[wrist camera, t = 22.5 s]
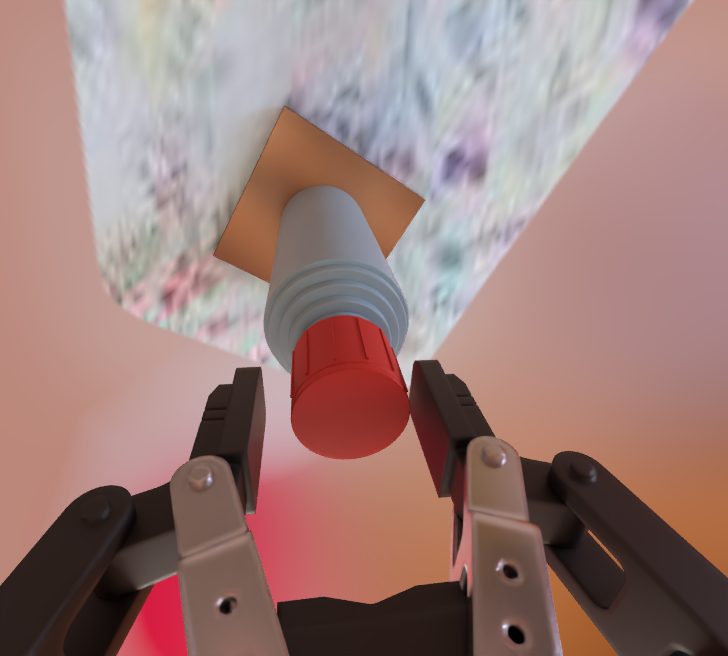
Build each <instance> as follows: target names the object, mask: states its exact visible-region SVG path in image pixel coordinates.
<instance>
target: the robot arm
mask: <svg viewBox="0 0 728 656" xmlns="http://www.w3.org/2000/svg"><path fill="white" fill-rule="evenodd" d="M409 401H410V414H411V418H412V420H413V423H414V426H415V429H416V432H417V435H418V438H419V441H420V444H421V447H422V450H423V452H424V456H425V458H426V462H427V465H428V467H429V470H430V473H431V476H432V479H433V482H434V485H435V488H436V491H437V494H438V497H439V498H441V497H451V499H452V501H453V504H454V506H453V511H452V522H451V551H450V576H449V577H450V578H449V582H443V583H434V584H427V585H418V586H414V587H413V588H410V589H408V590H405V591H403V592H401V593H398V594H396V595H394V596H391V597H389V598H387V599H385V600H383V601H380V602H378V603H375V604H365V603H360V602H353V601H347V600H341V599H334V598H329V597H318V598H310V599H301V600H293V601H285V602H278V603H277V613H276V609H275V606H274V603H273V600H272V596H271V593H270V590H269V586H268V583H267V580H266V576H265V573H264V570H263V566H262V563H261V560H260V557H259V553H258V550H257V547H256V543H255V540H254V537H253V534H252V532H251V530H250V531H249V528H248V525H247V522H246V518H245V514H255V513H256V505H257V496H258V487H259V477H260V468H261V458H262V449H263V440H264V432H265V421H266V409H265V398H264V387H263V378H262V370H261V367H247V368H236V371H235V375H234V380H233V384H224V385H219V386H217V388H216V389H215V390H214V391H213V392H212V393H211V394H210V395H209V397H208V401H207V403H206V407H205V411H204V413H203V417H202V421H201V423H200V426H199V429H198V433H197V436H196V439H195V442H194V446H193V449H192V452H191V456H190V459H189V461H188V462H186V463H185V464H183V465H182V466H181V467H179V469H177V471H176V472H175V473H174V475H173V476H172V478H171V481H170V482H168V483H166V484H164V485H162V486H160V487H157V488H154V489H151V490H148V491H145V492H142V493H139V494H136V495H133V496H131V495H130V493H129V492H128V490H126V489H125V488H123V487H120V486H113V485H110V486H103V487H99V488H95V489H93V490H90V491H88V492H86V493H84V494H83V495H81V496H80V497H78V498H77V499H75V500H74V501H73V502H72V503H71V504H70V505H69V506H68V507H67V508H66V509H65V510H64V511H63V513H62V514H61V515H60V516H59V517H58V519H57V520H56V521H55V522H54V523H53V524H52V526H51V527H50V528H49V529H48V530H47V531H46V533H45V534H44V535H43V536H42V537H41V538H40V540H39V541H38V542H37V543H36V544H35V546H34V547H33V548H32V549H31V550H30V551H29V553H28V554H27V555H26V556H25V558H24V559H23V560H22V561H21V562H20V563H19V564H18V566H17V567H16V568H15V569H14V571H13V572H12V573H11V574H10V575H9V576H8V577H7V579H6V580H5V581H4V582H3V583H2V585H1V586H0V656H116V655H117V653H118V651H119V649H120V648H121V646H122V644H123V642H124V640H125V638H126V636H127V635H128V633H129V631H130V629H131V627H132V625H133V623H134V622H135V619H136V618H137V616H138V614H139V612H140V610H141V608H142V607H143V605H144V603H145V601H146V599H147V597H148V595H149V593H150V592H151V590H152V588H153V586H154V584H155V583H157V582H159V581H162V580H164V579H166V578H169V577H171V576H174V575H176V574H178V579H179V588H180V595H181V604H182V611H183V620H184V628H185V636H186V644H187V652H188V656H563V654H562V649H561V643H560V637H559V631H558V626H557V620H556V615H555V609H554V603H553V597H552V591H551V586H550V580H549V575H548V568H547V563H548V565H549V566H550V567H551V569H552V570H553V571H554V572H555V573H556V575H557V576H558V577H559V579H560V580H561V582H562V583H563V584H564V585H565V587H566V588H567V589H568V591H569V592H570V593H571V594H572V596H573V597H574V598H575V600H576V601H577V602H578V604H579V605H580V606H581V607H582V609H583V610H584V611H585V612H586V614H587V615H588V617H589V618H590V619H591V620H592V622H593V623H594V624H595V626H596V627H597V628H598V629H599V631H600V632H601V633H602V635H603V636H604V637H605V638H606V640H607V641H608V642H609V644H610V645H611V646H612V648H613V649H614V650H615V651H616V653H617V654H618V655H619V656H728V578H727V577H726V576H725V575H724V574H723V573H721V571H719V570H718V569H717V568H716V567H715V566H714V565H713V564H712V563H711V562H709V561H708V560H707V559H706V558H705V557H704V556H703V555H702V554H700V553H699V552H698V551H697V550H696V549H695V548H694V547H692V546H691V545H690V544H689V543H688V542H687V541H686V540H685V539H684V538H683V537H681V536H680V535H679V534H678V533H677V532H676V531H675V530H673V528H671V527H670V526H669V525H668V524H667V523H666V522H665V521H663V520H662V519H661V518H660V517H659V516H658V515H657V514H656V513H655V512H654V511H652V510H651V509H650V508H649V507H648V506H647V505H646V504H645V503H643V502H642V501H641V500H640V499H639V498H638V497H637V496H636V495H635V494H633V493H632V492H631V491H630V490H629V489H628V488H627V487H626V486H624V485H623V484H622V483H621V482H620V481H619V480H618V479H617V478H616V477H614V476H613V475H612V474H611V473H610V472H609V471H608V470H607V469H605V468H604V467H603V466H602V465H601V464H600V463H599V462H597V461H596V460H594V459H593V458H591V457H589V456H587V455H584V454H582V453H579V452H573V451H564V452H560V453H558V454H557V455H555V457H554V459H553V461H552V463H548V462H542V461H537V460H531V459H527V458H523V457H520V456H519V454H518V453H517V451H516V450H515V449H514V448H513V447H512V446H511V445H510V444H508V443H507V442H505V441H503V440H501V439H498V438H496V437H495V435H494V434H493V432H492V430H491V428H490V426H489V425H488V423H487V421H486V419H485V418H484V416H483V414H482V412H481V411H480V409H479V407H478V406H477V405H476V402H475V400H474V398H473V397H472V396H471V393H470V391H469V390H468V388H467V386H466V384H465V383H464V382H463V381H462V380H460V379H459V378H458V377H457V376H455V375H454V374H445V373H444V371H443V369H442V367H441V365H440V363H439V361H438V360H419V361H415V362H414V364H413V370H412V378H411V386H410V395H409ZM588 530H590V531H591V532H592V533H593V534H594V535H595V536H596V537H597V538H598V539H599V540H600V542H601V543H602V544H603V545H604V546H605V547H606V548H607V549H608V550H609V551H610V552H611V553H612V555H613V556H614V557H615V558H616V559H617V560H618V561H619V563H620V564H621V566H622V567H623V570H624V571H623V570H622V569H621V568H620V567H619V566H618V565H617V564H616V563H615V561H614V560H613V559H612V558H611V557H610V556H609V555H608V554H607V553H606V552H605V551H604V549H603V548H602V547H601V546H600V545H599V544H598V543H597V542H596V541H595V540H594V538H593V537H592V536H591V535H590V534H589V533H588ZM546 562H547V563H546Z"/></svg>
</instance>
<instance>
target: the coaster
mask: <svg viewBox="0 0 728 656" xmlns="http://www.w3.org/2000/svg"><path fill="white" fill-rule="evenodd" d="M318 185H326V186H332V187H336V188H338V189H341V190H343V191H344V192H346V193H347V194H349V195H350V196H351V197H352V198H353V199H354V200H355V201H356V202H357V204H358V205H359V207H360V209H361V211H362V213H363V215H364V217H365V219H366V221H367V223H368V225H369V227H370V229H371V231H372V233H373V235H374V237H375V239H376V241H377V243H378V245H379V247H380V249H381V251H382V253H383V255H384V257H385V259H386V258H387V257H388V255H389V254H390V252H391V251H392V249H393V248H394V246H395V245H396V243H397V242H398V240H399V239H400V237H401V236H402V234H403V233H404V231H405V230H406V228H407V227H408V225H409V224H410V222H411V221H412V219H413V218H414V216H415V215H416V213H417V212H418V210H419V209H420V207H421V206H422V204H423V203H424V201H425V199H423V198H422V197H420V196H419V195H417V194H416V193H414V192H413V191H411V190H410V189H408V188H407V187H406V186H404V185H403V184H401V183H400V182H398V181H397V180H395V179H394V178H392V177H391V176H389V175H388V174H386V173H385V172H383V171H382V170H380V169H379V168H377V167H376V166H374V165H373V164H371V163H370V162H368V161H367V160H365V159H364V158H362V157H361V156H359V155H358V154H356V153H355V152H353V151H352V150H350V149H349V148H347V147H346V146H344V145H343V144H341V143H340V142H338V141H337V140H335V139H334V138H332V137H331V136H329V135H328V134H326V133H325V132H323V131H322V130H320V129H319V128H317V127H316V126H314V125H313V124H311V123H310V122H308V121H307V120H305V119H304V118H302V117H301V116H299V115H298V114H296V113H295V112H293V111H292V110H290V109H289V108H287V107H286V106H284V107H283V110H282V112H281V114H280V116H279V118H278V120H277V122H276V124H275V126H274V128H273V131H272V133H271V135H270V137H269V139H268V141H267V143H266V145H265V147H264V150H263V152H262V154H261V156H260V158H259V160H258V162H257V164H256V166H255V168H254V171H253V173H252V175H251V177H250V179H249V181H248V183H247V185H246V187H245V189H244V192H243V194H242V196H241V198H240V200H239V202H238V204H237V206H236V208H235V210H234V213H233V215H232V217H231V219H230V221H229V223H228V225H227V227H226V229H225V231H224V234H223V236H222V238H221V240H220V242H219V244H218V246H217V248H216V250H215V252H214V255H213V256H215V257H217V258H219V259H221V260H223V261H225V262H227V263H229V264H232V265H234V266H236V267H238V268H240V269H242V270H244V271H246V272H248V273H250V274H252V275H254V276H256V277H258V278H260V279H262V280H264V281H267V282H269V283H270V279H271V273H272V267H273V261H274V256H275V250H276V244H277V238H278V232H279V226H280V220H281V216H282V212H283V210H284V208H285V206H286V205H287V203H288V202H289V200H290V199H291V198H292V197H293V196H294V195H295V194H297V193H298V192H300V191H302V190H304V189H306V188H309V187H312V186H318Z"/></svg>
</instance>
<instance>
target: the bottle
mask: <svg viewBox="0 0 728 656" xmlns="http://www.w3.org/2000/svg"><path fill="white" fill-rule="evenodd" d="M338 315H350V316H357V317H361V318H364V319H366V320H368V321H370V322H372V323H374V324H375V325H376V326H378V327H379V328H381V329H382V331H383V332H384V334H385V335H386V337H387V339H388V341H389V343H390V346H391V347H393V350H394V353H395V356H396V357H397V355H398V354H399V352H400V350H401V348H402V346H403V343H404V341H405V338H406V335H407V331H408V325H409V313H408V307H407V303H406V300H405V297H404V295H403V293H402V291H401V289H400V287H399V285H398V283H397V281H396V279H395V277H394V275H393V273H392V271H391V269H390V267H389V265H388V263H387V261H386V259H385V257H384V255H383V253H382V251H381V249H380V247H379V245H378V243H377V241H376V239H375V237H374V235H373V233H372V231H371V229H370V227H369V225H368V223H367V221H366V219H365V217H364V215H363V213H362V211H361V209H360V207H359V205H358V204H357V202H356V201H355V200H354V199H353V198H352V197H351V196H350V195H349V194H347V193H346V192H344V191H343V190H341V189H338V188H336V187H332V186H326V185H318V186H312V187H309V188H306V189H304V190H302V191H300V192H298V193H297V194H295V195H294V196H293V197H292V198H291V199H290V200H289V202H288V203H287V205H286V206H285V208H284V210H283V212H282V216H281V220H280V226H279V232H278V238H277V244H276V250H275V256H274V261H273V267H272V273H271V279H270V285H269V291H268V297H267V303H266V308H265V315H264V333H265V338H266V341H267V344H268V346H269V348H270V350H271V352H272V354H273V355H274V356H275V358H276V359H277V360H278V362H279V363H280V364H281V365H282V366H283V368H284V369H285V370H286V371H288V372H289V373H290V374H291V369H292V351H294V349H295V346H296V344H297V342H298V340H299V338H300V337H301V336H302V334H303V333H304V332H305V331H306V330H307V329H308V328H310V327H311V326H312V325H314V324H315V323H317V322H319V321H321V320H323V319H326V318H329V317H333V316H338Z"/></svg>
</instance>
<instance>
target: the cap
mask: <svg viewBox="0 0 728 656" xmlns="http://www.w3.org/2000/svg"><path fill="white" fill-rule="evenodd" d="M407 392H408V390H407V387H406V384H405V381H404V378H403V375H402V373H401V370H400V367H399V364H398V361H397V358H396V356H395V353H394V350H393V347H391V346H390V343H389V341H388V339H387V337H386V335H385V334H384V332H383V331H382V329H381V328H379V327H378V326H376V325H375V324H374V323H372V322H370V321H368V320H366V319H364V318H361V317H357V316H350V315H338V316H333V317H329V318H326V319H323V320H321V321H319V322H317V323H315V324H314V325H312V326H311V327H310V328H308V329H307V330H306V331H305V332H304V333H303V334H302V336H301V337H300V338H299V340H298V342H297V344H296V346H295V349H294V351H292V369H291V395H290V397H291V398H292V402H291V424H292V428H293V431H294V433H295V435H296V436H297V438H298V439H299V441H300V442H301V443H302V444H303V445H304V446H305V447H306V448H308V449H309V450H311V451H312V452H315V453H316V454H319V455H321V456H324V457H328V458H333V459H356V458H361V457H365V456H369V455H372V454H374V453H377V452H379V451H381V450H383V449H384V448H386V447H387V446H389V445H390V444H391V443H393V442H394V441H395V440H396V439H397V438H398V437H399V436H400V434H401V433H402V432H403V431H404V428H405V427H406V425H407V423H408V420H409V415H410V401H409V398H408V395H407Z"/></svg>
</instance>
